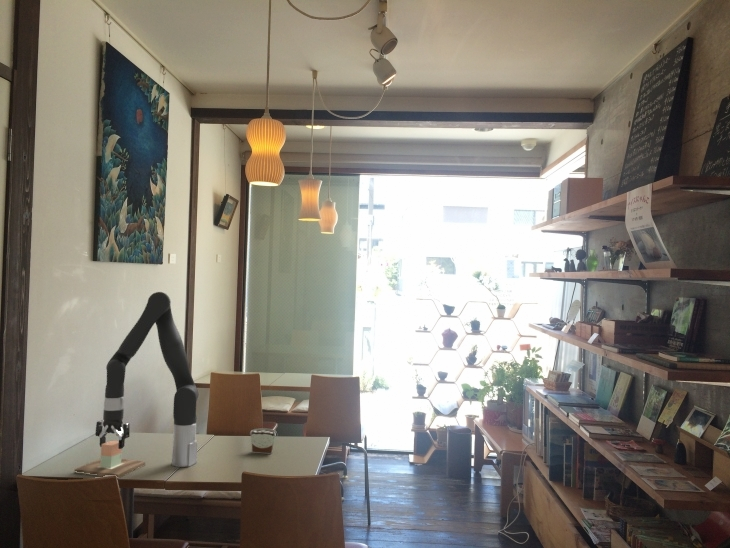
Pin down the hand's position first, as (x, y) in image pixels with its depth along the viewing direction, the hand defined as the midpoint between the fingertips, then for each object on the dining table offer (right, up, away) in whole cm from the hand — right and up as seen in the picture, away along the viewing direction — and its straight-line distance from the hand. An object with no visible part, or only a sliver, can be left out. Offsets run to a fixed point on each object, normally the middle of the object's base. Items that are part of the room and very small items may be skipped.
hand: (111, 447), depth 217 cm
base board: (0, -9, 0) cm, 9 cm away
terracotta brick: (0, -3, 0) cm, 3 cm away
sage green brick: (0, -7, 0) cm, 7 cm away
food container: (+57, -12, +31) cm, 66 cm away
